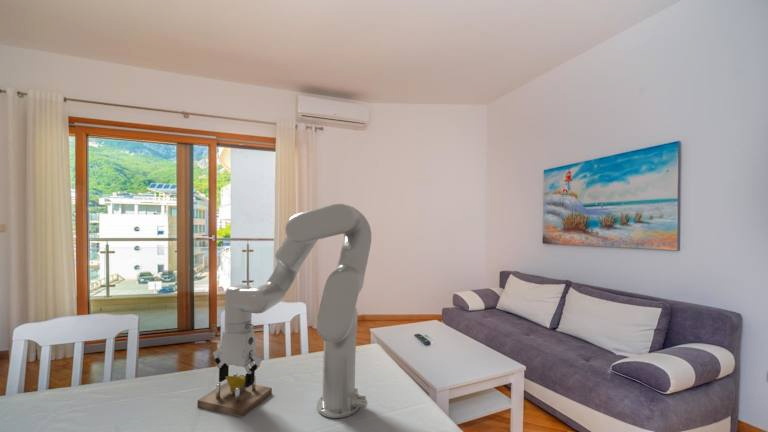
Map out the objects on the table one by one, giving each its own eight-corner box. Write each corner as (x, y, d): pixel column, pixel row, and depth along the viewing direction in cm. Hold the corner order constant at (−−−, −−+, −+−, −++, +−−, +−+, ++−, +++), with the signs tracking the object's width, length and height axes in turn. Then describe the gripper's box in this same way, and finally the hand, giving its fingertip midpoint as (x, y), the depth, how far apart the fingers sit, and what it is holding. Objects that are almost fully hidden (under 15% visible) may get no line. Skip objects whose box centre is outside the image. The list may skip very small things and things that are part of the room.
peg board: (271, 393, 102) (272, 375, 102) (242, 417, 89) (243, 396, 89) (230, 385, 106) (231, 367, 107) (197, 406, 94) (198, 386, 94)
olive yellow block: (252, 393, 99) (232, 381, 93) (236, 400, 99) (215, 389, 93) (253, 377, 103) (234, 364, 97) (238, 383, 103) (218, 371, 97)
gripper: (269, 325, 99) (268, 381, 99) (224, 319, 104) (223, 372, 104) (253, 333, 92) (251, 393, 92) (205, 326, 97) (203, 383, 97)
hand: (236, 382), depth 98 cm, fingers open, 9 cm apart
